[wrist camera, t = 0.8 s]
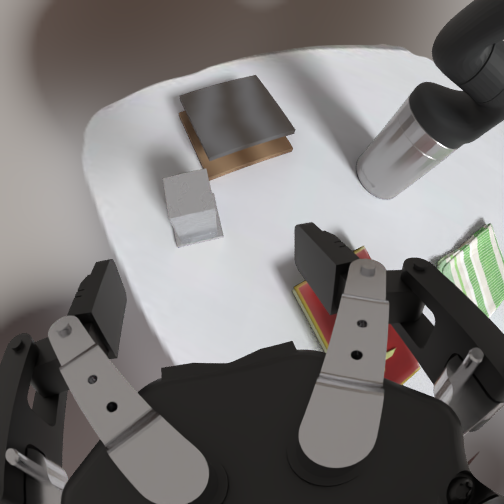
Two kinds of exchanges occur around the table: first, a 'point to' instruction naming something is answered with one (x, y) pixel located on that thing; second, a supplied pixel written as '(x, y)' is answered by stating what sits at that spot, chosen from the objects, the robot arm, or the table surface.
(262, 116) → the stand
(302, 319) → the table surface
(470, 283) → the dish towel
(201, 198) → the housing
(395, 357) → the hardcover book
